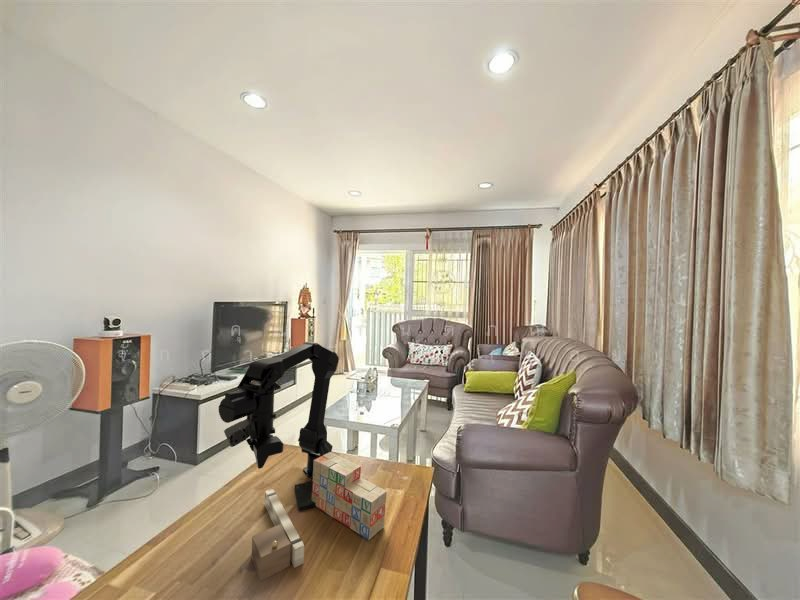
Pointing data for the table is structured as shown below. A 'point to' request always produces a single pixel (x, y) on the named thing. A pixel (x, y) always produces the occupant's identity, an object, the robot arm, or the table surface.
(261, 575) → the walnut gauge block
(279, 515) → the rail
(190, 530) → the table surface
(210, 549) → the table surface
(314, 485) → the stack of blocks
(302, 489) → the handheld gaming console
